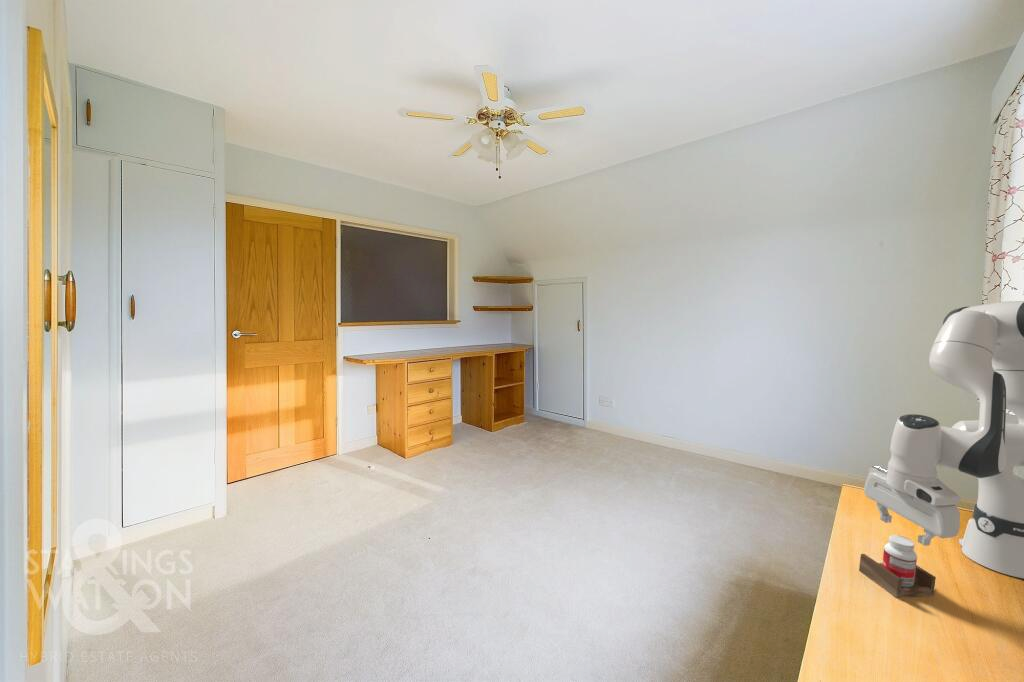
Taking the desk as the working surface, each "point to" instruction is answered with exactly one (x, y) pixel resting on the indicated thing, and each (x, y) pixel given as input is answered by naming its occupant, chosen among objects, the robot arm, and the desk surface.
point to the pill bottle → (900, 559)
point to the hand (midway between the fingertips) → (903, 532)
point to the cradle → (897, 579)
